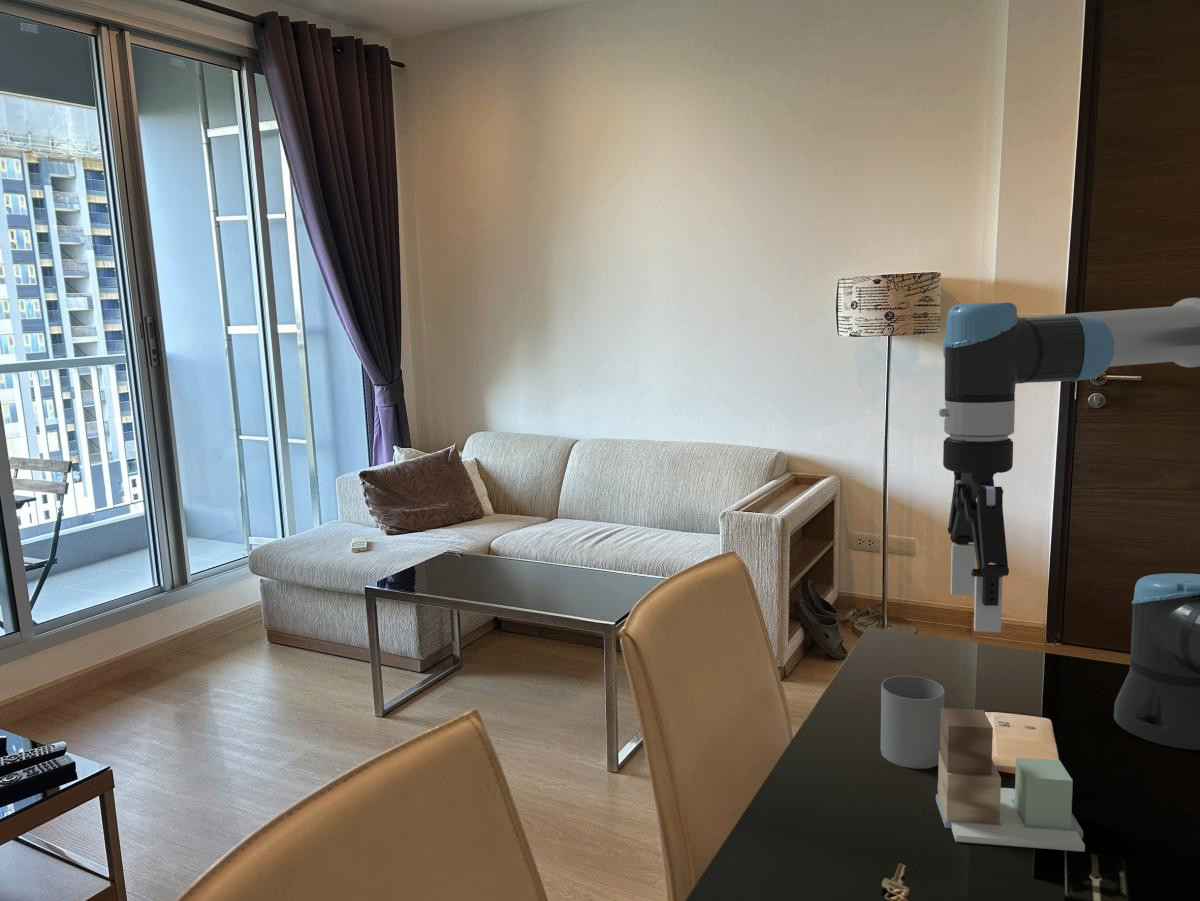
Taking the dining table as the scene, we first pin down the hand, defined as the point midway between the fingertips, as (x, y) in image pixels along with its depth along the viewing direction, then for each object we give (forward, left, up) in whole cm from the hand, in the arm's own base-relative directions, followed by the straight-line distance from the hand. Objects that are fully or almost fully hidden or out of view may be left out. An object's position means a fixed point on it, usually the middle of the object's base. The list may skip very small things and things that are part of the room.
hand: (974, 611), depth 106 cm
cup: (+5, -15, -27) cm, 31 cm away
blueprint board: (-4, 0, -26) cm, 27 cm away
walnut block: (+1, 0, -19) cm, 19 cm away
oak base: (0, 0, -25) cm, 25 cm away
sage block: (-8, 0, -25) cm, 27 cm away
